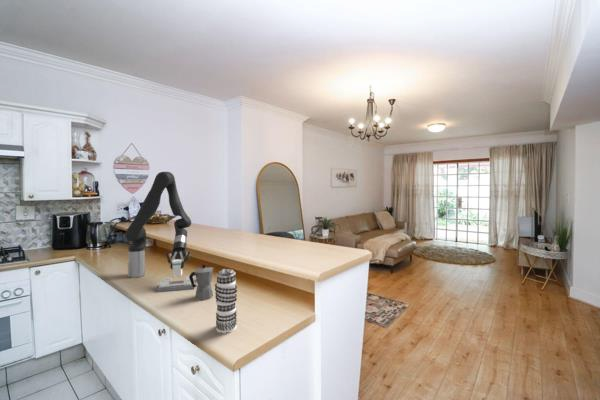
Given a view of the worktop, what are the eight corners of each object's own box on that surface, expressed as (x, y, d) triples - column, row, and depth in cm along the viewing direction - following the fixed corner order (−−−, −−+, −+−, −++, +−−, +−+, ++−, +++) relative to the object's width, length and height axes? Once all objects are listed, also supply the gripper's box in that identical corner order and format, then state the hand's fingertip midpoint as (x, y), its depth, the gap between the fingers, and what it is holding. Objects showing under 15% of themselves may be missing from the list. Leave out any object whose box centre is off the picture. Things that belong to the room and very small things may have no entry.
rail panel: (156, 292, 152) (156, 283, 152) (161, 284, 164) (161, 276, 163) (194, 288, 157) (194, 280, 157) (196, 281, 169) (196, 274, 168)
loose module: (172, 276, 157) (172, 261, 157) (174, 274, 161) (173, 259, 161) (181, 276, 158) (180, 261, 158) (182, 273, 163) (181, 259, 162)
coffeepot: (208, 291, 154) (208, 260, 153) (219, 294, 149) (219, 263, 148) (184, 300, 141) (183, 267, 140) (195, 305, 136) (195, 270, 135)
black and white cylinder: (212, 325, 116) (212, 269, 115) (233, 320, 121) (233, 266, 119) (218, 336, 108) (217, 275, 107) (240, 329, 113) (239, 271, 112)
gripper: (166, 241, 164) (162, 266, 153) (191, 240, 168) (189, 264, 157) (168, 248, 170) (164, 272, 159) (192, 246, 173) (190, 270, 162)
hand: (176, 268), depth 158 cm, fingers closed on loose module, 4 cm apart
